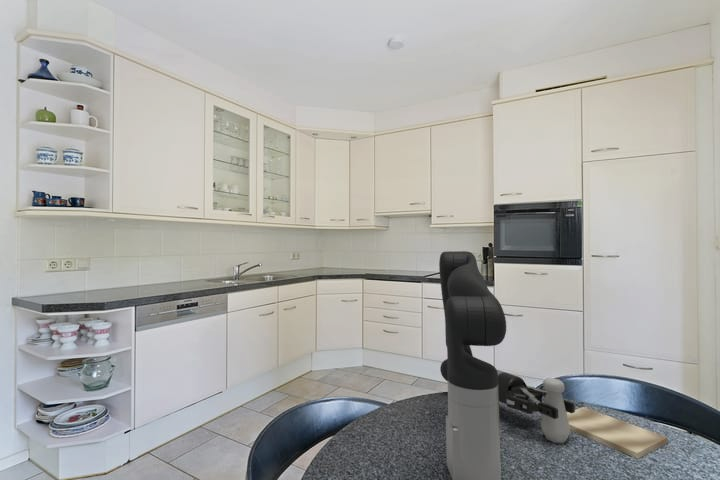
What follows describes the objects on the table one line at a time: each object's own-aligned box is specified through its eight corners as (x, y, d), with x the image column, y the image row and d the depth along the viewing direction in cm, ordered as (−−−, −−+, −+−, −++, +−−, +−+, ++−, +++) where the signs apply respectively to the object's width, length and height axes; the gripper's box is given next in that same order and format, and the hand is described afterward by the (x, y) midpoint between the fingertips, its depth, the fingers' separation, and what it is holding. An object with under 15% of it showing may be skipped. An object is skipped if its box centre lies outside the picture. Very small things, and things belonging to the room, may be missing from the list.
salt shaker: (574, 447, 75) (572, 385, 75) (545, 444, 76) (543, 383, 77) (564, 433, 80) (562, 376, 81) (537, 431, 81) (536, 375, 82)
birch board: (552, 422, 86) (552, 417, 86) (583, 411, 92) (583, 406, 92) (637, 459, 70) (637, 452, 70) (668, 443, 76) (667, 437, 76)
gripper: (482, 376, 88) (544, 400, 73) (520, 368, 95) (584, 388, 80) (482, 406, 88) (545, 436, 73) (521, 396, 94) (585, 421, 79)
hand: (565, 411), depth 76 cm, fingers open, 5 cm apart
